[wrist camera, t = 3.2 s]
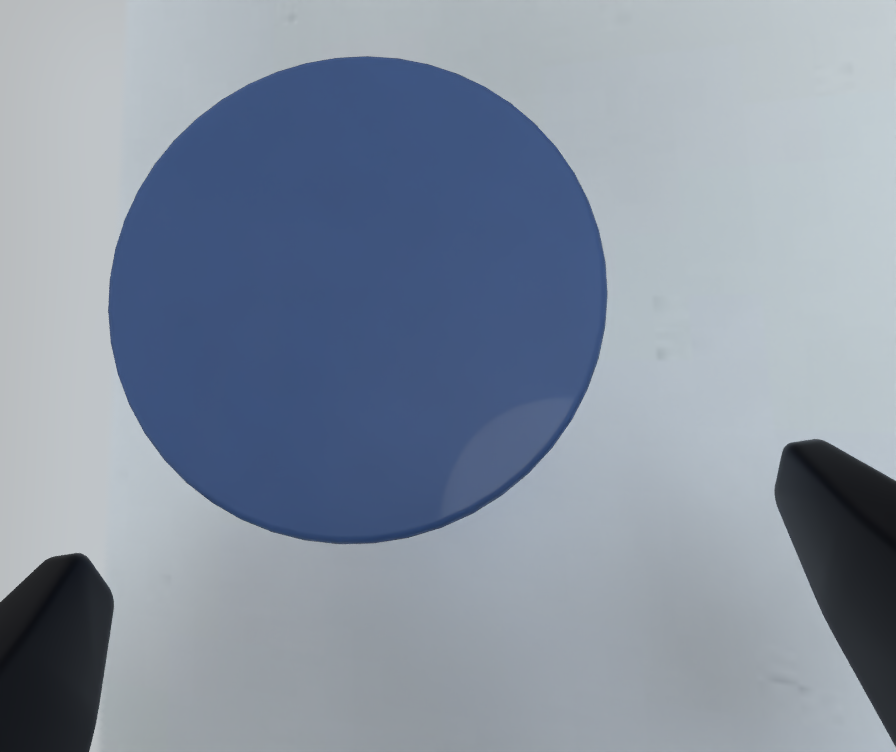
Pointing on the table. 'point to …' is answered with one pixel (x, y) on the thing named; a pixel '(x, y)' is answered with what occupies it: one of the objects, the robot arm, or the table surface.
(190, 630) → the table surface
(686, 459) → the table surface
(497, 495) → the peg
